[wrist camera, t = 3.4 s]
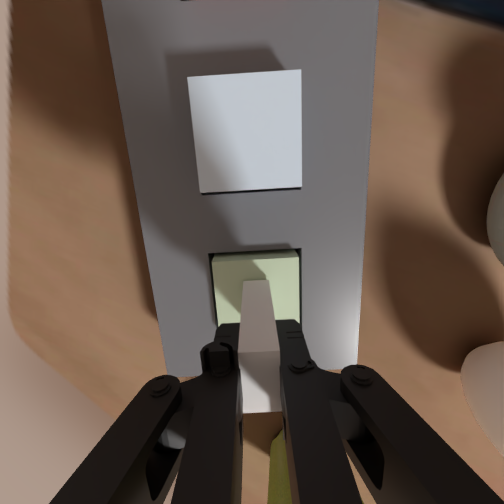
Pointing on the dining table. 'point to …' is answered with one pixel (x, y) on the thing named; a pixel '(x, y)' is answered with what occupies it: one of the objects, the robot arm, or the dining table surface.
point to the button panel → (249, 201)
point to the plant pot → (279, 473)
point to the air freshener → (497, 220)
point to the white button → (247, 130)
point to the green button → (256, 268)
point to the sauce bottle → (486, 389)
